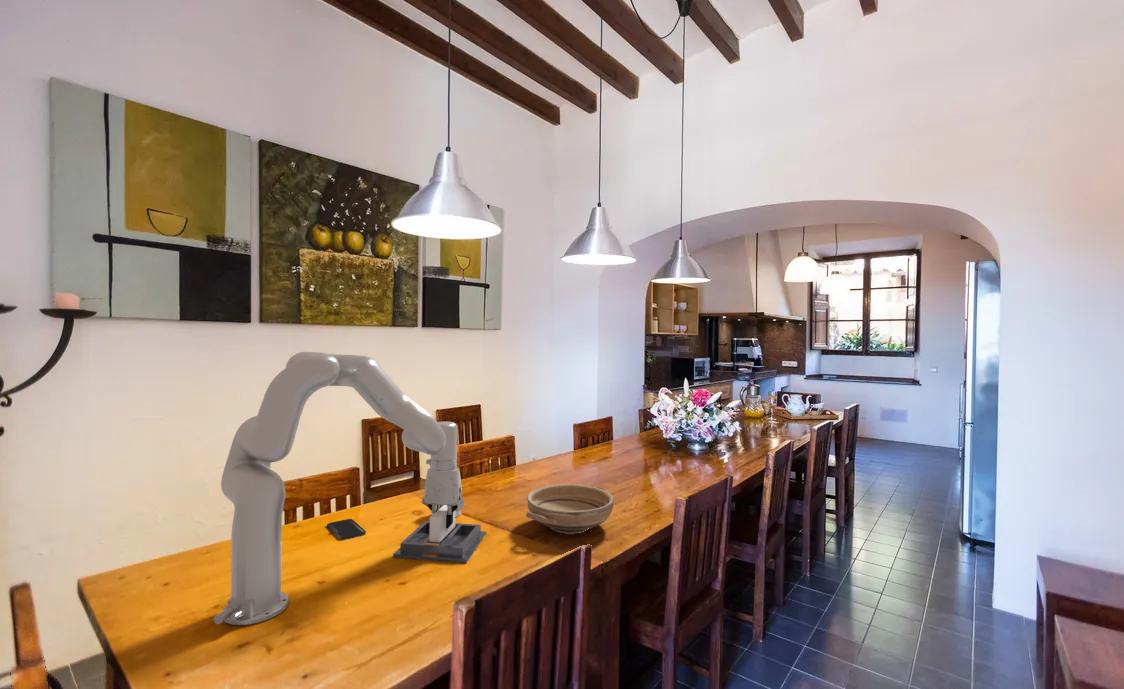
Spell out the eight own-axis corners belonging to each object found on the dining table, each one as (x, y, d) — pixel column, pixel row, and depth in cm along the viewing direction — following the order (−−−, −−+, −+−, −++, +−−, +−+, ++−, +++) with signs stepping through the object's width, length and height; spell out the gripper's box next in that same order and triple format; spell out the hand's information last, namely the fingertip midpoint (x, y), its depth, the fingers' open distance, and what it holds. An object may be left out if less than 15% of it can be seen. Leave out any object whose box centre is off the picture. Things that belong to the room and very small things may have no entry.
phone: (351, 518, 166) (366, 532, 154) (351, 521, 166) (366, 535, 154) (325, 523, 161) (340, 538, 149) (325, 527, 161) (340, 542, 149)
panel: (439, 542, 141) (440, 517, 141) (429, 541, 141) (429, 517, 141) (455, 526, 154) (455, 503, 154) (445, 525, 154) (446, 503, 154)
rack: (466, 563, 136) (466, 549, 136) (393, 557, 139) (393, 543, 139) (486, 534, 156) (486, 522, 156) (422, 530, 159) (422, 518, 158)
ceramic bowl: (566, 558, 140) (566, 522, 140) (497, 531, 159) (498, 499, 159) (637, 523, 168) (637, 493, 168) (572, 503, 187) (572, 476, 187)
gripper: (412, 466, 144) (411, 529, 145) (466, 468, 142) (465, 533, 143) (422, 459, 152) (421, 519, 152) (474, 462, 150) (473, 523, 150)
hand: (443, 525), depth 147 cm, fingers closed on panel, 2 cm apart
